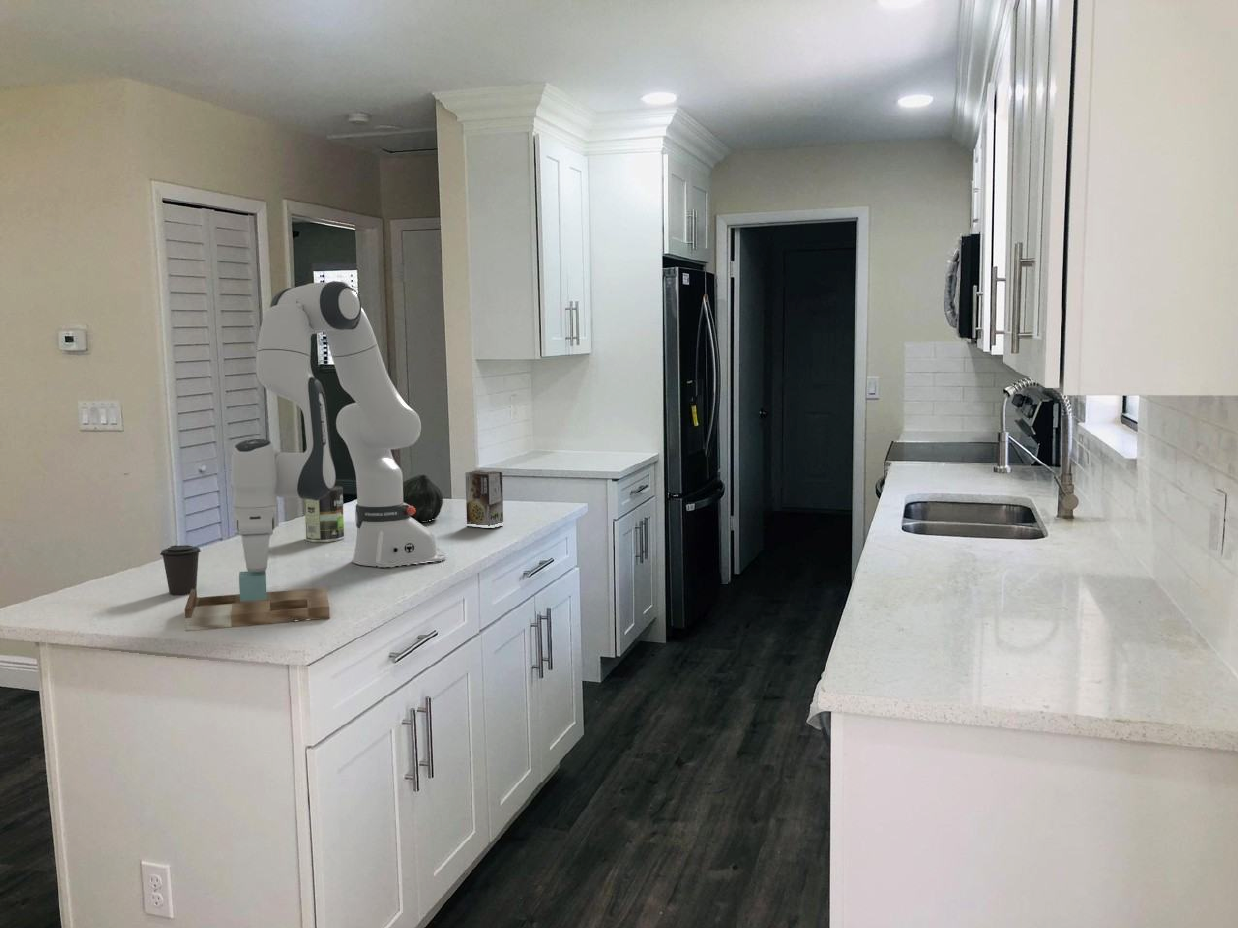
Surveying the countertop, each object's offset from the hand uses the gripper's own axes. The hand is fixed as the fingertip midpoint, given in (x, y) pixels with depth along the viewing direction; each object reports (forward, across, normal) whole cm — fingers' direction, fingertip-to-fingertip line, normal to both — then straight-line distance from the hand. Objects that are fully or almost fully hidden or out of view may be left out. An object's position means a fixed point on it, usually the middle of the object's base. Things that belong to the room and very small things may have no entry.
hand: (258, 584), depth 211 cm
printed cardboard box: (+4, -69, +61) cm, 92 cm away
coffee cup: (+4, -14, -16) cm, 22 cm away
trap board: (+4, +10, 0) cm, 11 cm away
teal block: (+1, +6, -1) cm, 6 cm away
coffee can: (+4, -65, +16) cm, 67 cm away
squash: (+4, -85, +44) cm, 96 cm away
